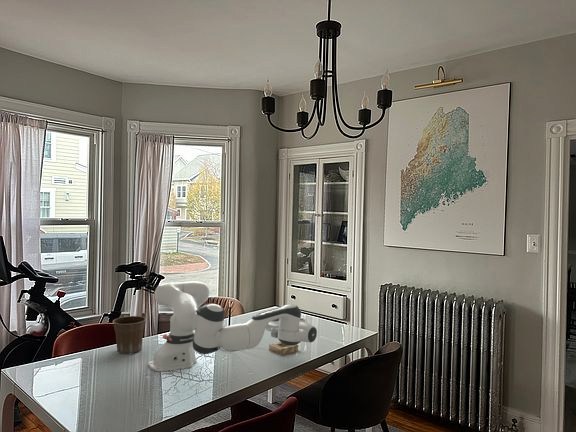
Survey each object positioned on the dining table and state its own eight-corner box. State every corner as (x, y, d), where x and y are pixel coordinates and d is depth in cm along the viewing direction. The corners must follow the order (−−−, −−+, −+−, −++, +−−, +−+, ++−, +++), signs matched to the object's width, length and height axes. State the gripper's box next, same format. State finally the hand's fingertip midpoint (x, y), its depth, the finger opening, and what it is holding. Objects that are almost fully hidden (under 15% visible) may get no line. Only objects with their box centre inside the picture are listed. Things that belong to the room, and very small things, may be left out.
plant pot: (118, 357, 222) (118, 325, 222) (108, 349, 235) (108, 318, 235) (150, 351, 233) (150, 320, 232) (138, 343, 245) (138, 314, 245)
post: (275, 338, 229) (276, 312, 229) (271, 336, 232) (271, 311, 232) (281, 336, 232) (282, 311, 232) (277, 335, 235) (277, 310, 235)
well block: (280, 355, 230) (280, 349, 230) (268, 350, 238) (269, 344, 238) (298, 350, 238) (298, 345, 238) (286, 346, 246) (286, 340, 246)
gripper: (275, 337, 216) (259, 330, 226) (307, 330, 228) (290, 324, 239) (275, 324, 215) (259, 318, 226) (307, 318, 228) (291, 313, 239)
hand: (275, 321), depth 233 cm, fingers closed on post, 4 cm apart
